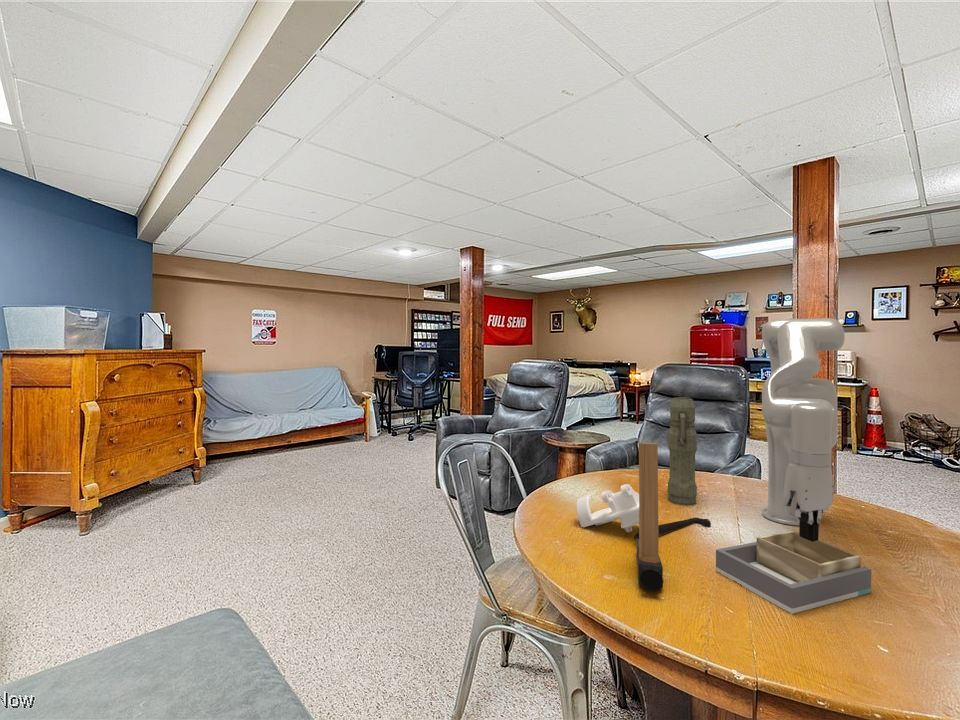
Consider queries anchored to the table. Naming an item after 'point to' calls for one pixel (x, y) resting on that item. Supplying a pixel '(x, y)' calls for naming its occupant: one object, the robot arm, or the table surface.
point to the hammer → (648, 519)
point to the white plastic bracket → (611, 508)
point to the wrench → (678, 525)
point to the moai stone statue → (682, 452)
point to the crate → (803, 556)
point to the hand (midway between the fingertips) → (808, 538)
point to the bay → (789, 581)
